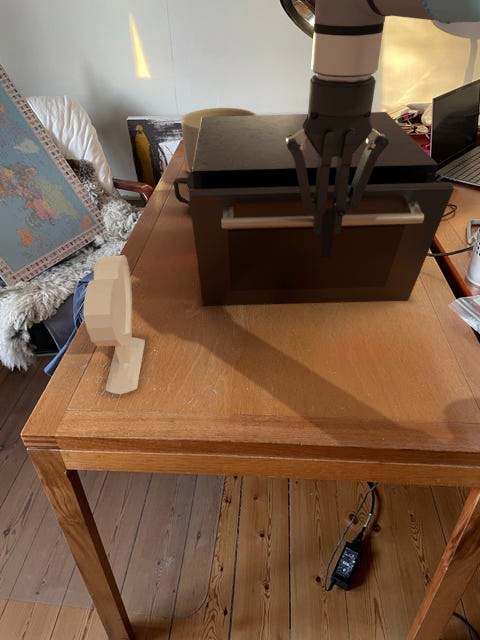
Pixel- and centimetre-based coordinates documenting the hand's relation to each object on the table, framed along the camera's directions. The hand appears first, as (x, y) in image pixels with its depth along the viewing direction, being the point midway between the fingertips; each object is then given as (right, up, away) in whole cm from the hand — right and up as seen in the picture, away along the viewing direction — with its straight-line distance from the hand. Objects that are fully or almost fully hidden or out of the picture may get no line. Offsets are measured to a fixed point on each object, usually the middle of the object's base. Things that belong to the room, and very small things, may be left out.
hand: (324, 252), depth 68 cm
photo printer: (-26, +39, +80) cm, 93 cm away
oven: (0, +4, +35) cm, 35 cm away
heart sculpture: (-32, -18, +9) cm, 37 cm away
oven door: (0, -8, +20) cm, 22 cm away
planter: (-18, +30, +68) cm, 76 cm away
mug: (-23, +19, +55) cm, 63 cm away
